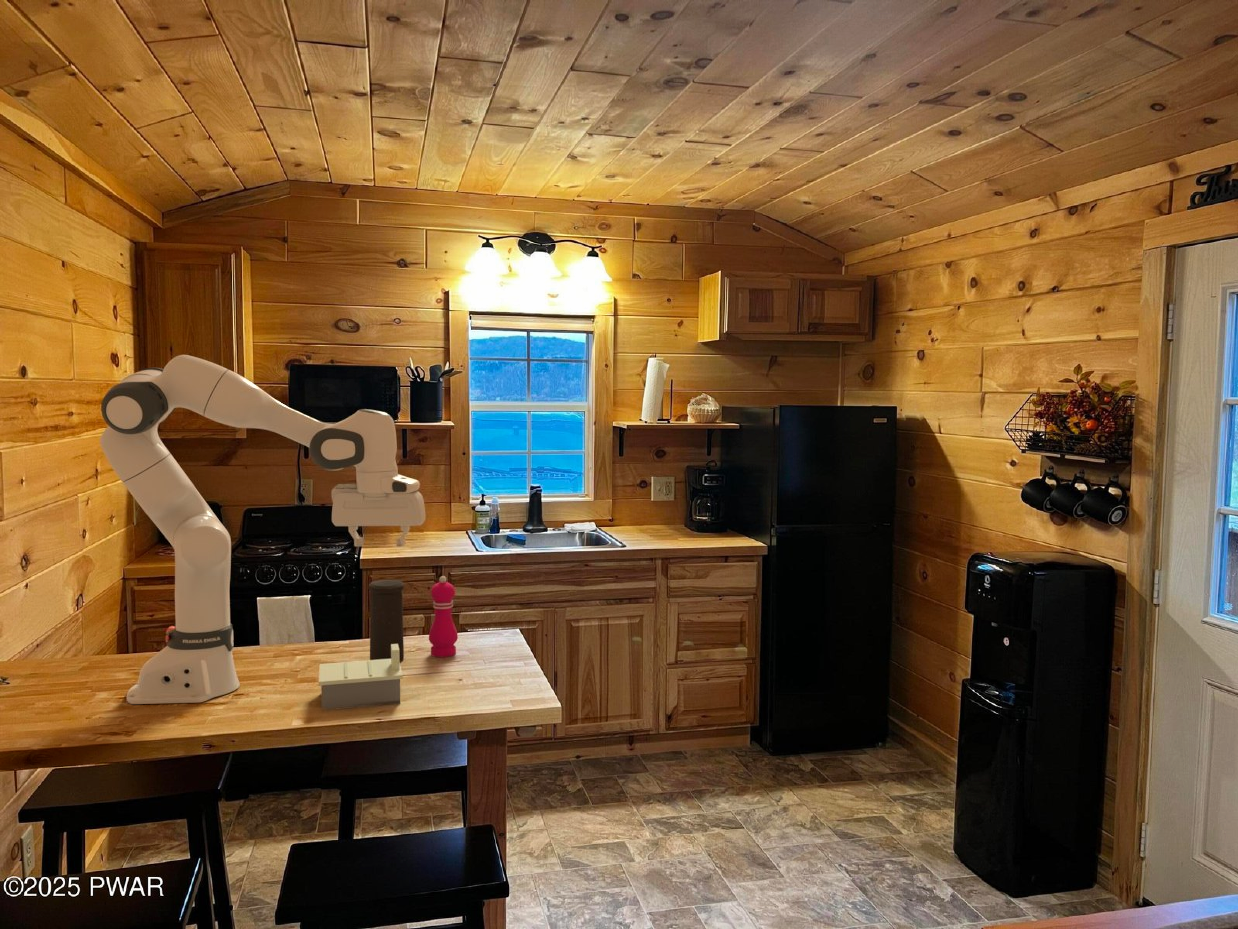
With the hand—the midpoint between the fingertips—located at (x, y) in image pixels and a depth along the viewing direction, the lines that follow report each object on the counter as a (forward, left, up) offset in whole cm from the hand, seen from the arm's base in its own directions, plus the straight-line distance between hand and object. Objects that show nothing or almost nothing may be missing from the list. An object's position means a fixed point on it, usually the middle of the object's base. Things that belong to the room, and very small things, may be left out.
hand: (379, 545), depth 203 cm
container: (+2, +23, -33) cm, 40 cm away
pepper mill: (+16, +25, -33) cm, 44 cm away
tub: (-5, -4, -33) cm, 33 cm away
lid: (-5, -4, -27) cm, 28 cm away
